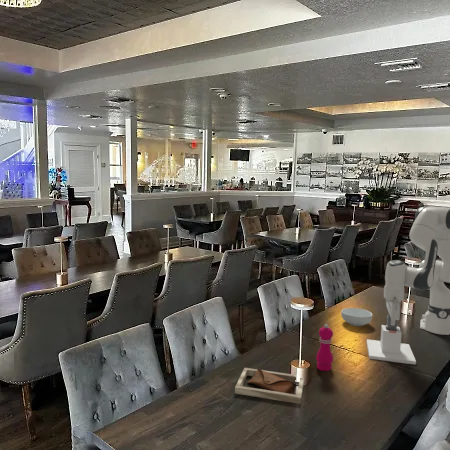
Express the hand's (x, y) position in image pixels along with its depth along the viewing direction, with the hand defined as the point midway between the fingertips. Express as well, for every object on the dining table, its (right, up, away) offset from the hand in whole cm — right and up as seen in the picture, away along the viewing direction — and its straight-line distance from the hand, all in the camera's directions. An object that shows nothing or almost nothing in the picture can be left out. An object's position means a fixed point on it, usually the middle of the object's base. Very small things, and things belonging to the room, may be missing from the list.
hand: (391, 322), depth 197 cm
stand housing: (0, -15, +2) cm, 15 cm away
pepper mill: (-36, -16, -15) cm, 42 cm away
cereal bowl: (-4, -10, +40) cm, 42 cm away
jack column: (0, -13, +2) cm, 13 cm away
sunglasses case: (-62, -18, -33) cm, 72 cm away
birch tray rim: (-62, -18, -33) cm, 72 cm away
